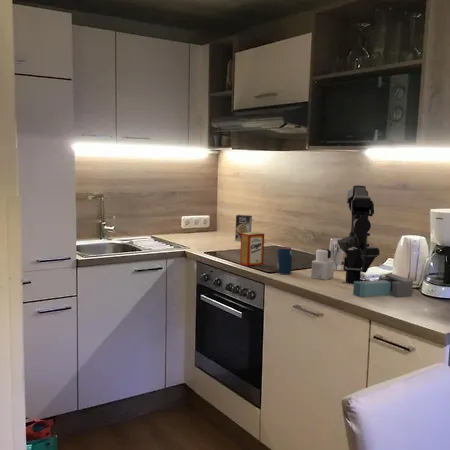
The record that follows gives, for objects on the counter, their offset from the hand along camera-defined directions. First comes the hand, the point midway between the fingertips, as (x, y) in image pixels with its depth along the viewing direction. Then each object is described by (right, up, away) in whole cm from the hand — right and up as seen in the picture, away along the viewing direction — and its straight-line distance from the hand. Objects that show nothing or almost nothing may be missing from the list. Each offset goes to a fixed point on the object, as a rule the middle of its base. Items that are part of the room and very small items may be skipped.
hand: (357, 270), depth 210 cm
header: (+17, -11, +8) cm, 21 cm away
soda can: (-24, -5, +44) cm, 50 cm away
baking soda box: (-38, -2, +62) cm, 73 cm away
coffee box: (-40, +7, +136) cm, 142 cm away
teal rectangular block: (+6, -10, +4) cm, 13 cm away
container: (-7, -7, +37) cm, 38 cm away
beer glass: (+3, -4, +56) cm, 56 cm away
